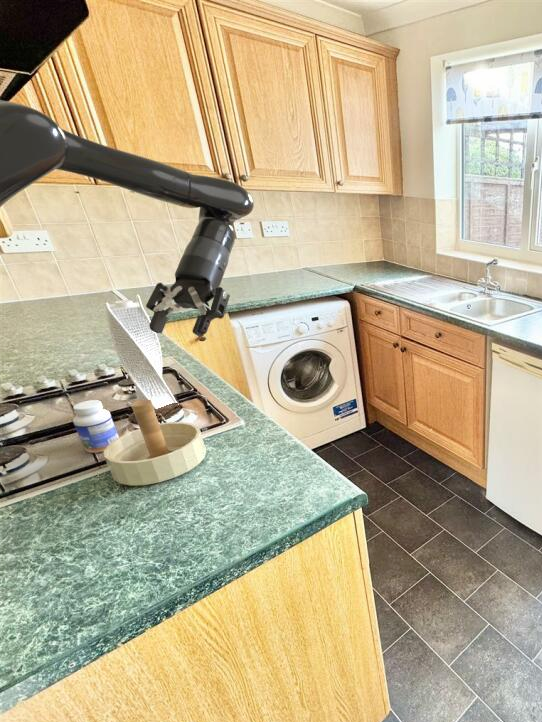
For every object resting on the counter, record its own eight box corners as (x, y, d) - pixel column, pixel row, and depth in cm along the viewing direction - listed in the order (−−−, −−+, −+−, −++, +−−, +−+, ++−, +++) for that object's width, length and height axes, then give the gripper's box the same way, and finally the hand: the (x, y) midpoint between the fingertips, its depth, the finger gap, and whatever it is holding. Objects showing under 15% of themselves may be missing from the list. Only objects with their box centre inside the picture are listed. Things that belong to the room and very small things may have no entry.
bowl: (93, 489, 74) (82, 464, 72) (146, 445, 87) (138, 422, 85) (181, 486, 76) (172, 461, 74) (220, 443, 89) (214, 421, 87)
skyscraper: (188, 404, 103) (154, 291, 91) (165, 419, 96) (125, 299, 84) (156, 402, 103) (118, 289, 91) (130, 417, 96) (85, 297, 84)
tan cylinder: (142, 468, 79) (119, 408, 74) (157, 455, 83) (136, 397, 78) (167, 468, 80) (146, 408, 74) (181, 455, 84) (162, 397, 78)
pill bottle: (82, 447, 85) (63, 405, 81) (116, 436, 89) (99, 395, 85) (90, 456, 82) (71, 413, 78) (125, 445, 87) (108, 403, 82)
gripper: (156, 250, 85) (124, 321, 79) (225, 255, 84) (198, 326, 79) (183, 272, 92) (156, 339, 86) (247, 277, 91) (224, 344, 86)
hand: (176, 333), depth 82 cm, fingers open, 8 cm apart
